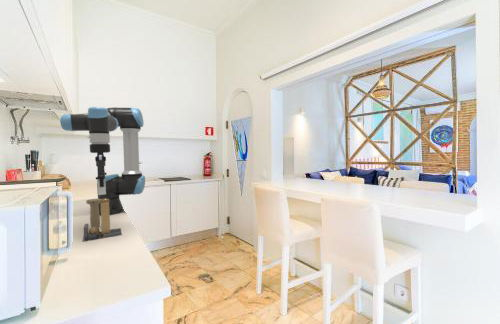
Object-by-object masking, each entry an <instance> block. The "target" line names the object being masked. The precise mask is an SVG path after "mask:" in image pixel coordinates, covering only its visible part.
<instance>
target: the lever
mask: <svg viewBox="0 0 500 324" xmlns="http://www.w3.org/2000/svg"><path fill="white" fill-rule="evenodd" d="M100 203H101V215H100V227H101V232H102V235H104V234H108V233H110V230H111V218H110V214H109V198H104V199H100Z"/></svg>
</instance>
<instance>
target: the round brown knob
mask: <svg viewBox="0 0 500 324" xmlns="http://www.w3.org/2000/svg"><path fill="white" fill-rule="evenodd" d="M99 232H100V227H99V228H98V227H92V228H89V229H88V233H89V234H92V233H97V235H98V234H99Z"/></svg>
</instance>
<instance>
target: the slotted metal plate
mask: <svg viewBox="0 0 500 324" xmlns="http://www.w3.org/2000/svg"><path fill="white" fill-rule="evenodd" d="M118 236H123V234H122V229H121V227H120V228H114V229H110V233H108V234H104V235H102V232H101V231H100V232H99V234H98V235H97V233H92V234H89V223H84V226H83V237H82V240H81V242H90V241H96V240H102V239H107V238H113V237H114V238H115V237H118Z"/></svg>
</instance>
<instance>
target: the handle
mask: <svg viewBox="0 0 500 324" xmlns="http://www.w3.org/2000/svg"><path fill="white" fill-rule="evenodd" d="M85 201H86V205H89V206H90V207H89V208H90V210H89V212H90V214H89V219H90V222H89V224H90V227H91V228H92V227H98V228H99V229H100V227H101V215H100V214H99V203H100V199H98V198H93V199H86V200H85Z"/></svg>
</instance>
